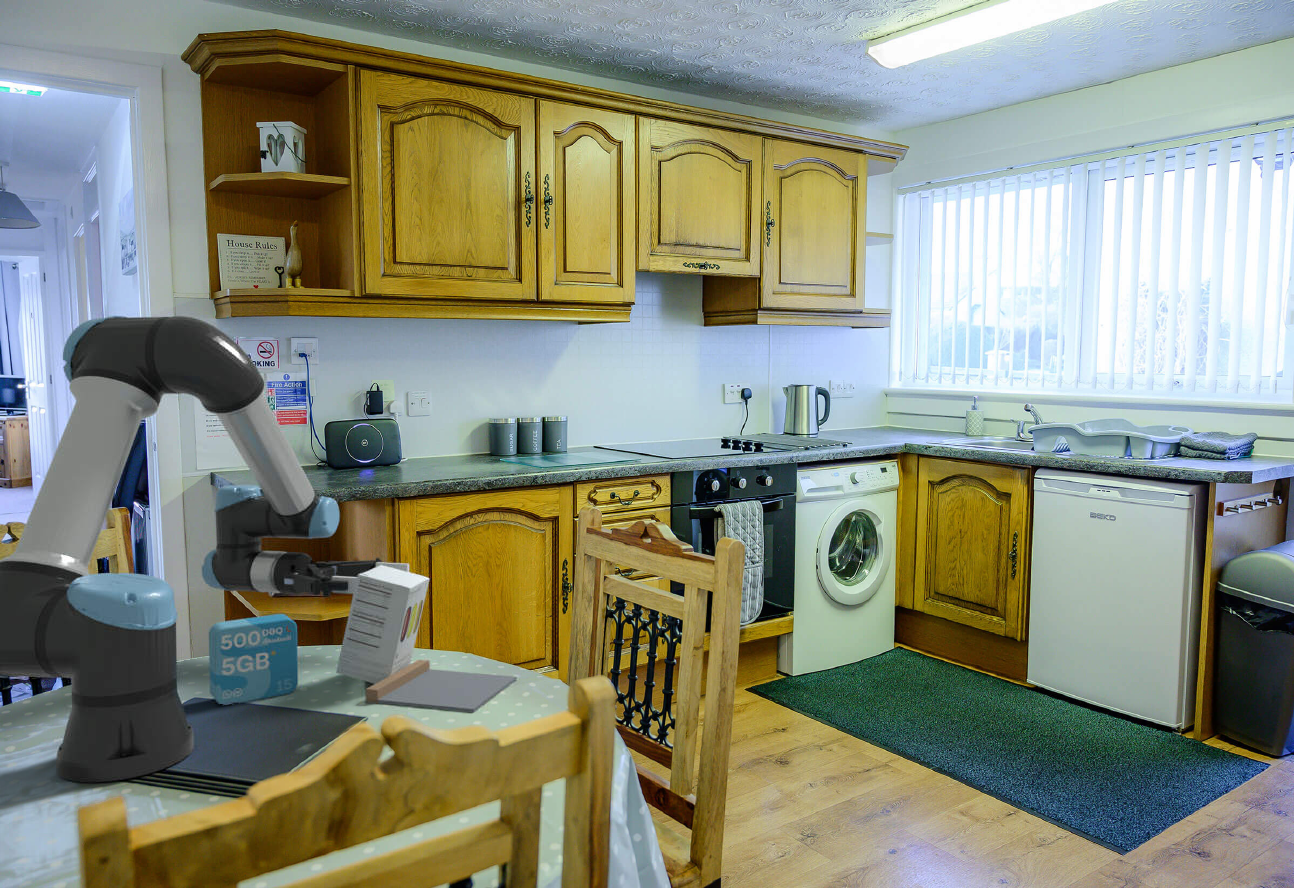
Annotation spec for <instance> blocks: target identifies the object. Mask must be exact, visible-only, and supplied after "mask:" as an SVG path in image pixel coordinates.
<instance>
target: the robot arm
mask: <svg viewBox="0 0 1294 888" xmlns="http://www.w3.org/2000/svg"><path fill="white" fill-rule="evenodd" d="M62 352H63V353H62V360H63V361H65V365H64V366H63V368H62V369H63V372H64V375H65V377H66V379H67V381H68V382H69V391H70V393H71V394H72V396H73V398H74V399H75V400H76V401H75V404H74V406H73V409H72V411H71V412H70V413H71V414H70V416H69V418H68V421H67V424H66V426H65V428H64V431H63V433H62V435H61V438H60V440H59V443H58V445H57V447H56V450H55V453H54V455H53V457H52V460H51V462H50V465H49V467H48V470H47V472H46V474H45V476H44V480H43V482H42V484H41V487H40V489H39V492H38V493H37V494H38V495H37V496H36V499H35V501H34V503H33V506H32V509H31V511H30V514H29V516H28V518H27V521H26V523H25V525H24V528H23V530H22V533H21V536H20V538H19V541H17V542H18V543H17V545H16V547H15V550H14V552H13V553H12V554H10V555H8V556H6V557H3V558H1V559H0V678H4V679H5V678H6V679H7V678H15V677H28V678H29V677H30V678H31V677H34V678H55V679H57V678H58V679H59V678H60V679H61V678H62V679H71V680H70V682H71V684H70V685H71V686H70V687H71V711H70V713H69V716H68V720H67V723H66V727H65V730H64V735H63V740H62V742H61V744H60V745H58V749H57V752H56V773H57V774H58V776H59V777H61V778H62V779H65V780H68V781H72V782H77V783H103V782H104V783H106V782H115V781H120V780H126V779H132V778H137V777H141V776H145V775H149V774H151V773H155V772H158V771H161V770H165V769H166V767H167V768H168V767H171V766H173V765H175V763H176V764H178V763H179V762H181V761H183V760H184V759H186V758H187V757H188V756H190V755H191V753H192V752H193V750H194V747H195V745H194V743H195V742H194V730H193V727H192V725H191V724H190V723H189V722H188V719H187V715H186V711H185V709H184V705H183V703H182V700H181V698H180V695H179V693H178V664H177V662H178V661H177V660H178V659H177V619H178V611H177V609H176V601H175V592H174V589H173V588H172V586H171V585H170V584H169V583H168V582H167V581H165V580H164V579H162V578H160V577H156V576H152V575H147V574H141V573H132V572H120V573H112V572H111V573H110V572H106V573H105V572H104V573H102V572H101V573H93V574H91V573H90V572H89V571H90V570H89V569H88V567H89V564H90V562H91V559H92V556H93V555H94V551H95V548H96V546H97V542H98V540H99V538H100V534H101V532H102V529H103V527H104V524H105V521H106V518H107V515H108V512H109V510H110V506H111V504H112V502H113V499H114V496H115V493H116V490H117V487H118V485H119V482H120V481H121V480H120V479H121V476H122V474H123V472H124V469H125V467H126V463H127V461H128V457H129V455H130V452H131V449H132V446H133V444H134V441H135V438H136V435H137V433H138V431H139V428H140V424H141V423H142V420H144V419H147V418H150V417H152V416H154V415H155V414H156V413H157V411H158V409H159V406H160V403H161V400H162V398H163V396H164V395H167V394H168V395H171V394H176V395H177V394H179V395H180V394H181V395H182V394H183V395H184V394H185V395H190V396H192V397H194V398H196V399H198V400H199V401H200V403H201V405H202V407H203V408H204V410H206V411H207V412H208V413H210V414H214V415H216V416H217V418H218V419H219V421H220V423H221V424H222V426H223V427H224V429H225V432H227V434H228V436H229V437H230V440H231V441H232V443H233V444H234V446H235V448H236V449H237V451H238V453H239V454H240V455H241V458H242V459H243V461H244V462H245V465H247V468H248V469H249V471H250V472H251V474H252V476H253V478H254V479H255V481H256V482H257V484H258V485H254V484H253V485H252V484H238V485H237V484H234V485H226V486H225V485H224V486H221V487H219V488H218V489H217V491H216V493H215V509H214V514H215V533H216V534H215V535H216V538H215V539H216V546H215V549H213V550H210V551H209V552H208V553H207V554H206V555H205V557H204V559H203V561H204V563H203V564H202V566H201V576H202V579H203V581H204V583H205V584H206V585H208V587H210V588H212V589H216V590H217V589H218V590H224V591H229V592H258V593H268V596H272V597H273V596H274V595H275V594H280V593H281V594H283V595H302V594H304V593H307V594H311V595H315V596H318V595H321V592H322V597H323V598H330V597H331V593H334V594H349V595H350V594H351V595H353V594H354V589H355V585H356V580H357V576H358V574H361V573H364V572H366V571H369V570H371V569H373V568H376V567H378V566H379V565H383V566H387V567H391V568H395V569H398V570H402V571H406V572H409V573H410V563H404V562H403V563H402V562H401V563H400V562H383V560H381V558H380V557H375V559H371V560H369V559H368V560H367V559H366V560H346V561H344V560H343V561H339V560H338V561H337V560H329V561H327V562H326V561H317V562H314V561H313V559H312V557H311V556H310V555H309V554H307V553H305V552H295V551H294V552H291V551H289V552H287V551H282V550H281V551H280V550H276V551H275V550H261V549H262V547H261V545H262V538H284V539H285V538H286V539H309V540H313V539H320V538H321V539H322V538H324V539H325V538H330V537H331V536H333V535H334V534H335V533H336V531H337V529H338V526H339V523H340V509H339V505H338V502H337V501H336V500H335V499H333V498H332V497H327V496H324V495H321V496H318V495H317V494H316V491H315V489H314V488H313V486H312V484H311V483H310V480H309V478H308V476H307V474H306V473H305V471H304V469H303V467H302V466H301V463H300V462H299V460H298V457H297V456H296V453H295V452H294V451H293V447H292V446H291V444H290V443H289V440H288V439H287V437H286V435H285V432H284V431H283V430H282V428H281V425H280V423H279V422H278V420H277V418H276V416H275V414H274V412H273V410H272V409H271V406H270V405H269V402H268V401H267V399H266V397H265V395H264V391H265V387H266V384H265V381H264V378H263V376H262V375H261V373H260V371H259V369H258V367H257V365H256V363H254V362H253V360H252V358H251V357H250V356H249V355H248V354H247V353H246V351H244V350H243V348H241V346H240V345H239V344H238V343H237V342H235V341H234V339H232V338H231V337H230V336H229V335H227V334H226V333H225V332H224V331H222V330H220V329H219V328H217V327H216V326H214V325H213V324H211V323H208V322H207V321H204V320H202V319H199V318H194V317H192V316H185V315H183V316H181V315H175V316H145V317H144V316H143V317H142V316H141V317H139V316H138V317H133V316H132V317H128V316H122V315H121V316H120V315H111V316H106V317H101V318H100V317H99V318H98V317H97V318H92V319H88V320H86V321H84V322H82V323H81V324H79V325H77V327H75V328H74V330H72V332H71V333H70V334H69V335H68V338H67V340H66V342H65V343H64V348H63V351H62ZM260 488H261V489H260ZM261 491H262V492H263V494H264V495H262V493H261ZM193 746H194V747H193ZM192 749H193V750H192ZM191 751H192V752H191ZM187 755H188V756H187ZM186 756H187V757H186ZM185 757H186V758H185ZM182 759H183V760H182Z"/></svg>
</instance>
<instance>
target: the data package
mask: <svg viewBox="0 0 1294 888" xmlns="http://www.w3.org/2000/svg"><path fill="white" fill-rule="evenodd" d="M298 658H299V657H298V625H297V623H296V622H295V620H293V619H292V618H290V617H288V615H286V614H284V613H277V614H269V615H263V616H257V617H247V618H241V619H240V618H239V619H234V620H233V619H232V620H225V621H220V622H217V623H214V624H213V625H212V626H211V627H210V628H209V631H208V660H209V666H208V667H209V668H208V669H209V692H210V695H211V696H212V697H213V699H214V700H215V701H216V702H217V704H218V705H220V704H225V703H231V702H232V703H233V702H239V703H238V704H243V703H246V702H253V701H258V700H263V699H268V698H274V697H279V696H285V695H288V694H291V693H292V692H294V691H295V690H296V689H297V687H298V683H299V674H298V672H299V671H298V669H299V666H298Z"/></svg>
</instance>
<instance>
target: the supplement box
mask: <svg viewBox="0 0 1294 888" xmlns="http://www.w3.org/2000/svg"><path fill="white" fill-rule="evenodd" d="M429 583H430V578H429V577H427V576H424V575H421V574H418V573H417V574H416V573H413V572H410V571H409V572H406V571H402V570H398V569H395V568H391V567H387V566H383V565H379V566H378V567H376V568H373V569H371V570H369V571H366V572H364V573H361V574H358V576H357V580H356V585H355V589H354V594H352V599H351V603H350V607H349V608H350V609H349V613H348V618H347V622H346V626H345V631H344V634H343V636H344V637H343V640H342V644H341V649H340V653H339V657H338V662H337V666H336V672H335V673H336V674H339V675H342V676H347V677H350V678H354V679H356V680H360V681H364V682H368V683H370V684H373V685H374V684H376V683H378V682H380V681H381V680H383V679H385V678H387V677H389V676H391V675H393V674H394V673H396V672H398V671H400V670H401V669H403V668H405V667H407V666H409V665H410V664H411V661H412V657H413V653H414V648H415V645H416V639H417V635H418V631H419V627H420V621H421V618H422V613H423V608H424V604H425V601H426V597H427V596H426V595H427V592H428V587H429Z"/></svg>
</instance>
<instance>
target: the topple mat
mask: <svg viewBox="0 0 1294 888" xmlns="http://www.w3.org/2000/svg"><path fill="white" fill-rule="evenodd" d="M516 679H517V676H511V675H500V674H489V673H477V672H465V671H455V670H454V671H452V670H441V669H431V668H430V660H425V659H418V660H415V661H414V662H413V663H410V665H409V666H407V667H405V668H403V669H401V670H400V671H398V672H396V673H394V674H393V675H391V676H389V677H387V678H385V679H383V680H381V681H380V682H378V683H376V684H374V683H373V685H371V686H369V687H367V688H366V689H365V701H366V703H374V704H383V705H384V704H385V705H386V704H387V705H396V706H407V707H414V708H415V707H416V708H427V709H435V710H436V709H437V710H445V711H446V710H448V711H458V712H467V713H474V712H476V711H477V710H478V709H480V708H482V706H484V705H485V704H486V703H488V702H489V701H491V700H492V699H493V698H494V697H496V696H497V695H499V694H500V693H501V692H503V691H504V690H505V689H506V688H507V687H509V686H511V685H512V684H513V683H515V682H516V681H517V680H516ZM515 680H516V681H515Z"/></svg>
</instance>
